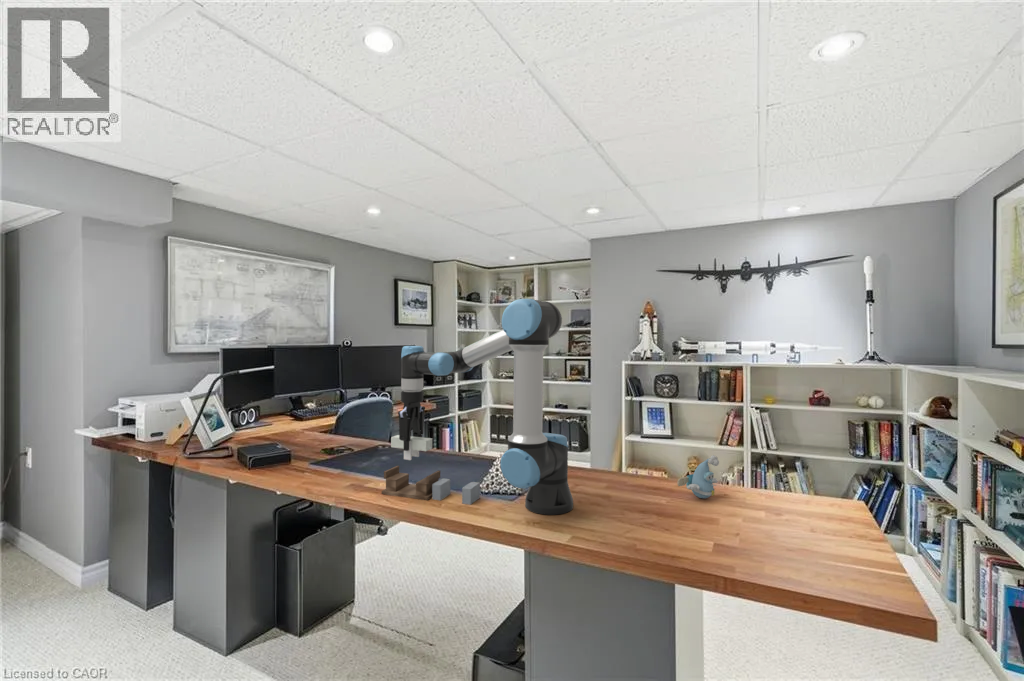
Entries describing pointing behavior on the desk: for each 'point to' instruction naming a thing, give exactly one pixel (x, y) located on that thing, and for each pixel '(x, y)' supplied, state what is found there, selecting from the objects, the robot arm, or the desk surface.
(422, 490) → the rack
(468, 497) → the blocks
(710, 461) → the toy figure
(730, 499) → the desk surface
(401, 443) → the pale grey long block
